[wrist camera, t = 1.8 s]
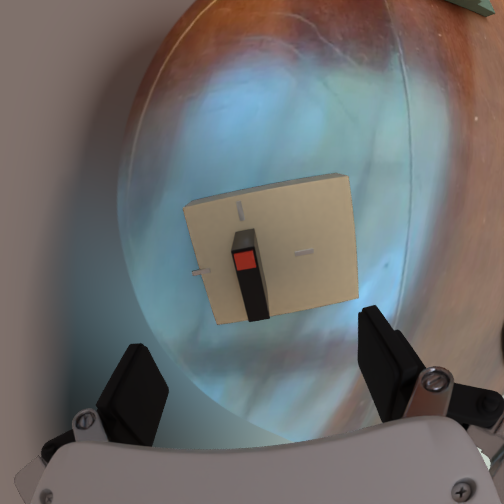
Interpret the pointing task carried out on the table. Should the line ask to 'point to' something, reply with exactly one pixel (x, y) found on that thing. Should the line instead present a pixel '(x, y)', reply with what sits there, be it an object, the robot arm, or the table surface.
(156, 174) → the table surface
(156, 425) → the robot arm
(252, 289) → the knob
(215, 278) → the panel
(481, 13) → the block
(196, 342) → the table surface
